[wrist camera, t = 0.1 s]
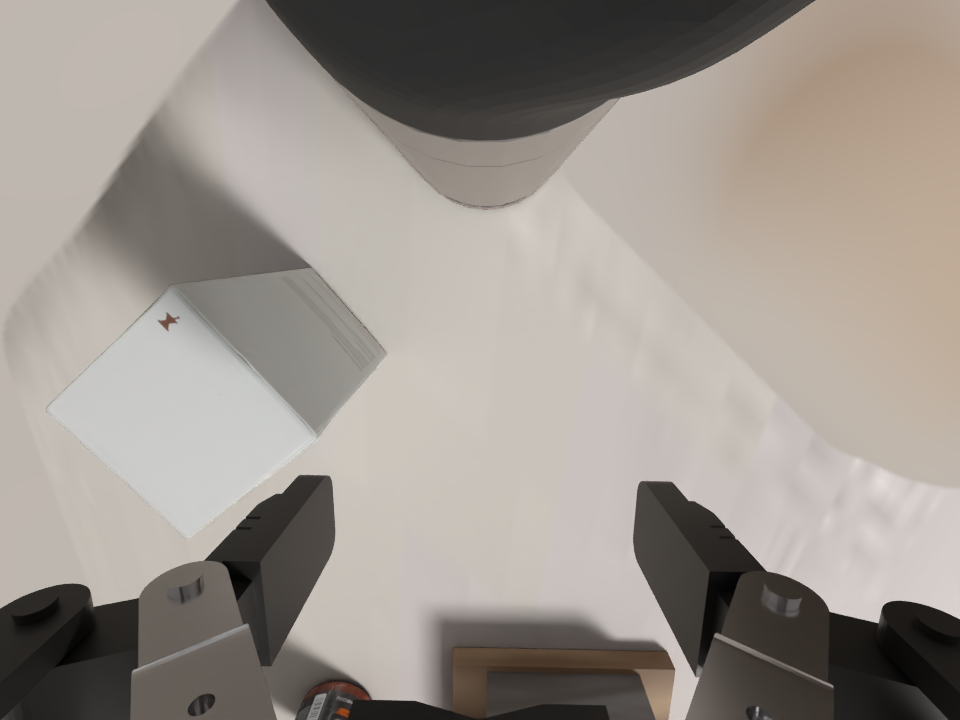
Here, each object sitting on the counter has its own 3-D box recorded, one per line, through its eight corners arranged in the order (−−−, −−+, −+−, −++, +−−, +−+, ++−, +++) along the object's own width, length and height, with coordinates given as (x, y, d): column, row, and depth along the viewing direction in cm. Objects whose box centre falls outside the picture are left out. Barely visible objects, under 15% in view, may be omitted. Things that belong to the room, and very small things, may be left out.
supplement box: (228, 338, 28) (31, 405, 16) (313, 263, 27) (170, 276, 15) (308, 424, 30) (182, 547, 18) (392, 357, 29) (321, 438, 16)
